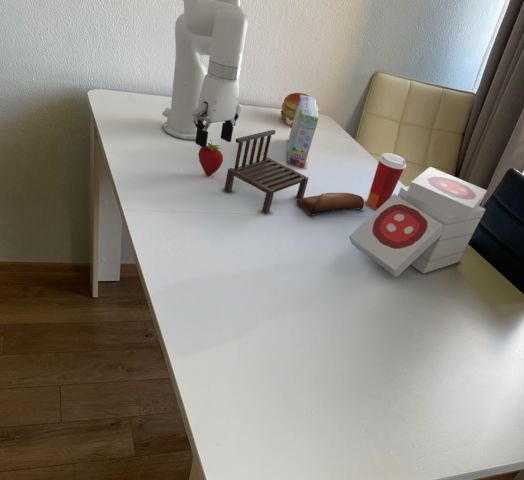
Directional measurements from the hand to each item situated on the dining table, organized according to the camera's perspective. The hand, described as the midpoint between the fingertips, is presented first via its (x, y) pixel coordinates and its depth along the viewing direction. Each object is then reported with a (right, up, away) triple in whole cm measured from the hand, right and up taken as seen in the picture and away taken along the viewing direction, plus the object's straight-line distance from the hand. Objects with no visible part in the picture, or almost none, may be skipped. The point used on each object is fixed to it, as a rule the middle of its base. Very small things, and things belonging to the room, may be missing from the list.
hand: (213, 142), depth 137 cm
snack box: (+23, +9, +33) cm, 41 cm away
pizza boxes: (+48, -30, -4) cm, 57 cm away
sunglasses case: (+30, -15, +8) cm, 35 cm away
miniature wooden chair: (+13, -12, +5) cm, 18 cm away
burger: (+25, +29, +56) cm, 68 cm away
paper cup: (+45, -12, +16) cm, 49 cm away
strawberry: (-2, -7, +6) cm, 9 cm away
